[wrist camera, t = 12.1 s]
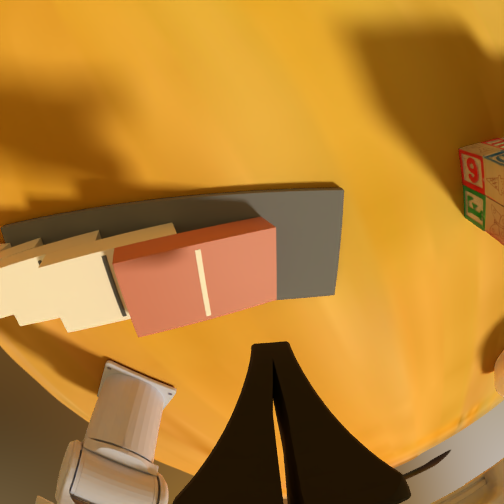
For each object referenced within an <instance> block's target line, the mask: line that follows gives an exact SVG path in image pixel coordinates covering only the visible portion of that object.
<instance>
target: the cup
mask: <svg viewBox="0 0 504 504" xmlns="http://www.w3.org/2000/svg"><path fill="white" fill-rule="evenodd" d="M494 374H495V388H496V391H497V392H498V393H499V394H500V395H501V396H502V397H503V398H504V350H503V351H502V353H501V354H500V356H499V357H498V359H497V360H496V363H495V365H494Z"/></svg>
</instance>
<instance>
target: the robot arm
mask: <svg viewBox="0 0 504 504" xmlns="http://www.w3.org/2000/svg"><path fill="white" fill-rule="evenodd" d="M175 394H176V389H175V388H174V387H171V386H168V385H166V384H163V383H161V382H158V381H156V380H153V379H151V378H148V377H146V376H144V375H141V374H139V373H137V372H134V371H132V370H130V369H128V368H125V367H123V366H121V365H119V364H117V363H115V362H113V361H110V360H108V361H107V362H106V365H105V368H104V372H103V375H102V379H101V383H100V387H99V391H98V395H97V396H98V400H97V402H96V405H95V408H94V411H93V414H92V417H91V420H90V422H89V426H88V429H87V432H86V435H85V438H84V440H83V441H82V442H80V441H78V440H75V441H72V442H70V443H69V445H68V447H67V450H66V453H65V456H64V459H63V462H62V465H61V469H60V473H59V477H58V481H57V489H56V495H55V498H56V500H57V504H88V503H90V504H167V503H168V487H167V484H166V482H165V480H164V478H163V476H162V475H161V474H159V473H158V466H157V465H155V464H153V460H154V454H155V448H156V443H157V437H158V431H159V426H160V420H161V415H162V410H163V409H164V408H165V407H166V405H167V404H168V403H169V401H170V400H171V399H172V398H173V396H174V395H175ZM273 401H274V406H275V411H276V416H277V421H278V426H279V431H280V436H281V441H282V446H283V453H284V464H285V476H286V488H287V500H288V504H399V503H401V502H403V501H405V500H407V499H409V498H410V496H411V493H410V489H409V486H408V484H407V482H406V480H405V478H404V477H403V475H402V474H401V473H400V472H398V471H397V470H395V469H394V468H392V467H391V466H389V465H388V464H386V463H385V462H384V461H382V460H381V459H379V458H378V457H377V456H376V455H374V454H373V453H372V452H371V451H369V450H368V449H367V448H366V447H365V446H364V445H363V444H361V443H360V442H359V441H358V440H357V439H356V438H355V437H354V436H353V435H352V434H350V433H349V431H348V430H347V429H346V428H345V427H344V426H343V425H342V424H341V423H340V422H339V421H338V420H337V419H336V417H335V416H334V415H333V414H332V413H331V412H330V410H329V409H328V408H327V407H326V405H325V404H324V403H323V401H322V400H321V399H320V397H319V396H318V394H317V393H316V392H315V390H314V389H313V387H312V386H311V384H310V382H309V381H308V379H307V378H306V376H305V374H304V373H303V371H302V369H301V367H300V366H299V364H298V362H297V360H296V358H295V356H294V354H293V351H292V349H291V347H290V344H289V343H288V342H287V341H285V342H274V343H260V344H254V345H252V346H251V358H250V363H249V367H248V371H247V375H246V378H245V382H244V385H243V388H242V391H241V394H240V396H239V399H238V401H237V404H236V406H235V409H234V411H233V413H232V416H231V418H230V420H229V422H228V424H227V426H226V428H225V430H224V432H223V433H222V435H221V437H220V439H219V440H218V442H217V444H216V446H215V447H214V449H213V450H212V452H211V454H210V455H209V457H208V458H207V459H206V461H205V462H204V464H203V465H202V466H201V468H200V469H199V470H198V472H197V473H196V474H195V476H194V477H193V478H192V480H191V481H190V482H189V483H188V484H187V485H186V486H185V488H184V489H183V490H182V491H181V492H180V493H179V494H178V495H177V496H176V498H175V500H174V501H173V504H283V497H282V489H281V481H280V473H279V465H278V456H277V447H276V439H275V430H274V421H273ZM79 499H80V500H82V501H80V500H79ZM83 501H85V502H83ZM86 502H87V503H86ZM35 504H54V503H52V502H50V501H48V500H46V499H44V498H42V497H40V496H37V499H36V503H35ZM431 504H504V458H503V459H501V460H500V461H499V462H498V463H496V464H495V465H493V466H492V467H491V468H489V469H487V470H486V471H484V472H483V473H481V474H480V475H479V476H477V477H476V478H474V479H472V480H471V481H469V482H468V483H466V484H465V485H464V486H462V487H461V488H459V489H457V490H456V491H454V492H452V493H450V494H448V495H447V496H445V497H443V498H441V499H439V500H437V501H435V502H433V503H431Z"/></svg>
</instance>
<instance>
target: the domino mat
mask: <svg viewBox="0 0 504 504" xmlns="http://www.w3.org/2000/svg"><path fill="white" fill-rule="evenodd" d="M343 199H344V190H343V189H342V188H300V189H274V190H255V191H239V192H225V193H212V194H201V195H190V196H180V197H171V198H162V199H153V200H145V201H137V202H129V203H122V204H115V205H108V206H102V207H95V208H89V209H83V210H77V211H71V212H66V213H60V214H55V215H50V216H45V217H40V218H35V219H30V220H25V221H21V222H16V223H12V224H8V225H4V226H3V227H1V231H2V234H3V237H4V240H5V243H10V244H11V247H14V246H17V245H20V244H23V243H26V242H28V241H31V240H34V239H37V238H40V237H41V239H42V242H43V245H46V244H50V243H53V242H57V241H60V240H64V239H67V238H71V237H74V236H78V235H82V234H85V233H89V232H93V231H97V230H99V232H100V236H101V239H104V238H108V237H112V236H116V235H120V234H124V233H128V232H132V231H136V230H141V229H145V228H149V227H154V226H158V225H163V224H167V223H173V225H174V228H175V230H176V233H177V234H178V233H183V232H187V231H192V230H197V229H201V228H206V227H211V226H216V225H221V224H226V223H231V222H236V221H241V220H246V219H251V218H256V217H263V218H264V219H265V220H267V221H268V222H269V223H271V224H272V225H274V226H275V227H276V262H277V300H283V299H295V298H307V297H318V296H329V295H334V294H335V286H336V278H337V270H338V261H339V251H340V240H341V228H342V215H343Z"/></svg>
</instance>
